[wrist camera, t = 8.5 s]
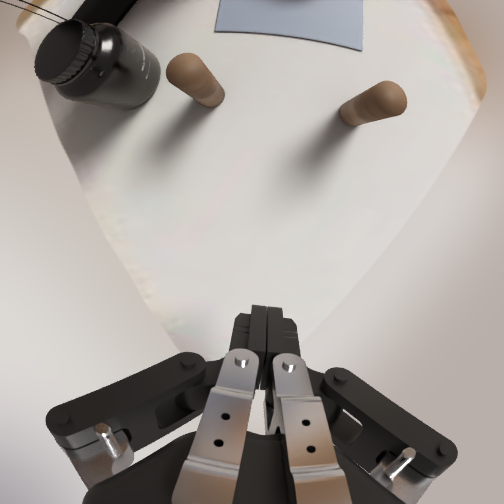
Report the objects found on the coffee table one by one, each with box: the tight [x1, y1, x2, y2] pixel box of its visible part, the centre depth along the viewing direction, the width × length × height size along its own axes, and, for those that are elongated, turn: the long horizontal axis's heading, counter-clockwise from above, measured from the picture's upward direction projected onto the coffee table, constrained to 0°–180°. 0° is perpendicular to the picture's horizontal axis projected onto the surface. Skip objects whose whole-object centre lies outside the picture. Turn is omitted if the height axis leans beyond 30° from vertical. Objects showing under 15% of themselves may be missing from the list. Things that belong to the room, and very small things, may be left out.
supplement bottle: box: [34, 19, 161, 110], centre depth 16 cm, size 7×7×12 cm
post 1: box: [166, 53, 225, 108], centre depth 18 cm, size 2×2×9 cm
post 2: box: [340, 81, 407, 126], centre depth 18 cm, size 2×2×9 cm
